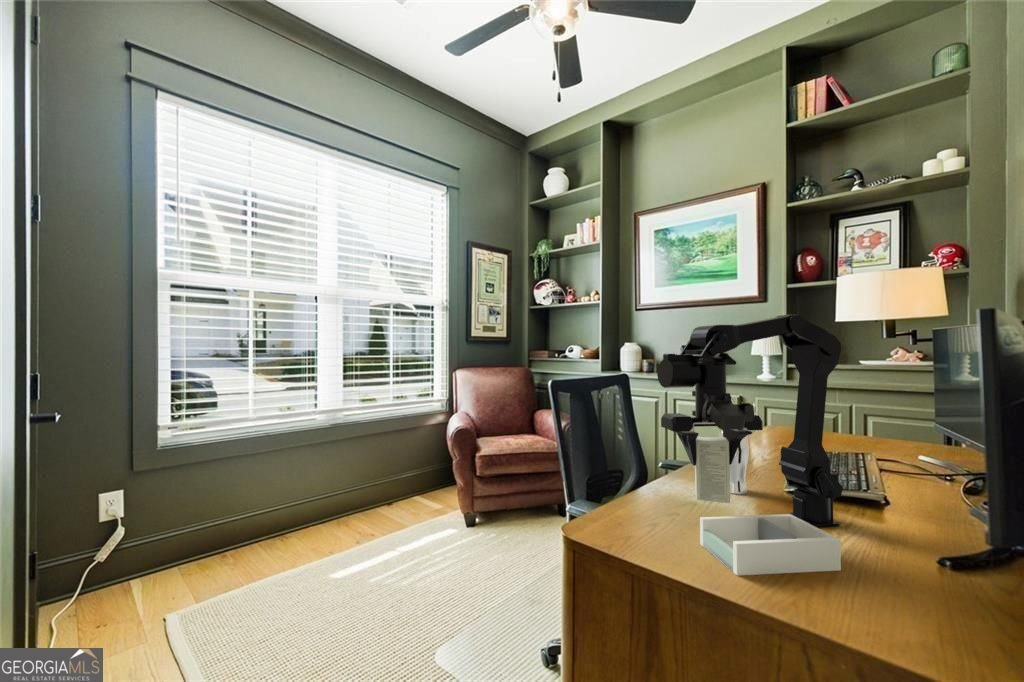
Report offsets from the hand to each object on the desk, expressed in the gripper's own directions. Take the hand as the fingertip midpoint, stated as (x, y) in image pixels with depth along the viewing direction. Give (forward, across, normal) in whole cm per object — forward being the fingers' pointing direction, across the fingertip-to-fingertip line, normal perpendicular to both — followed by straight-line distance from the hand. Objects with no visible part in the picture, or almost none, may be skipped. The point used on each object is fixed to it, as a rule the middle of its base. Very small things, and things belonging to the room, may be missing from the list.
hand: (711, 464), depth 86 cm
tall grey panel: (+12, +5, -12) cm, 17 cm away
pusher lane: (+13, +3, -12) cm, 18 cm away
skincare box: (+7, 0, 0) cm, 7 cm away
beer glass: (+13, +19, +22) cm, 32 cm away
